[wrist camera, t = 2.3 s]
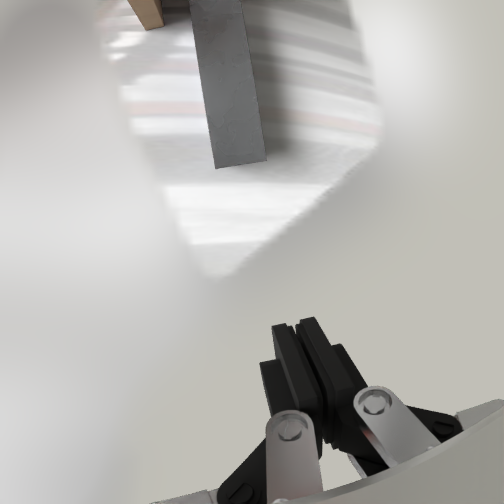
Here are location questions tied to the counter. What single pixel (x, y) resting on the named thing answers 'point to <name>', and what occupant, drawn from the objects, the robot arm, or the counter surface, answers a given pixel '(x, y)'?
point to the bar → (227, 82)
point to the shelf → (148, 12)
